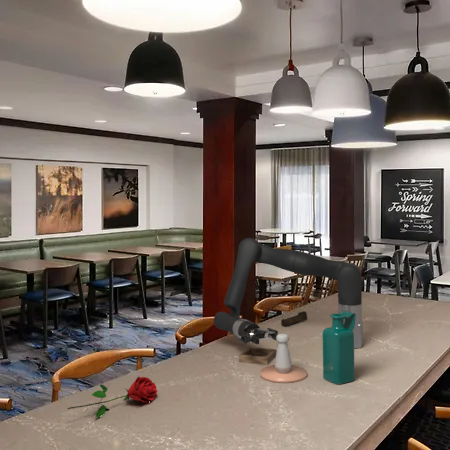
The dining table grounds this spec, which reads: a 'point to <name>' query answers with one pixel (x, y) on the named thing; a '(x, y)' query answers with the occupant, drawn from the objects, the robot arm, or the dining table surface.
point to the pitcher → (339, 349)
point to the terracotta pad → (291, 377)
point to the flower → (129, 393)
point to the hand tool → (294, 319)
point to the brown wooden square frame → (248, 358)
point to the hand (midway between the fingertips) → (268, 339)
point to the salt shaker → (282, 355)
